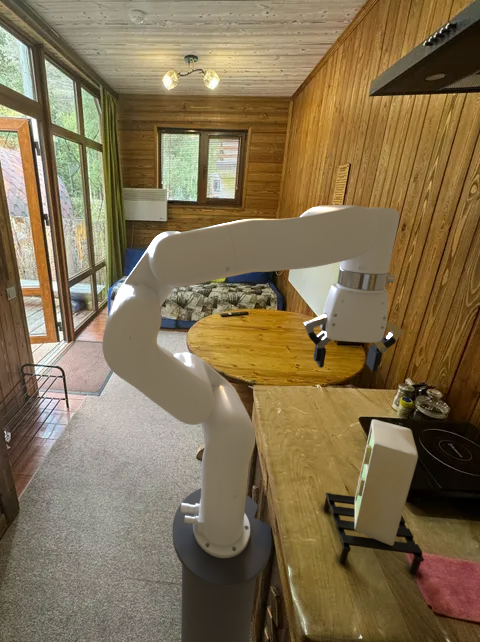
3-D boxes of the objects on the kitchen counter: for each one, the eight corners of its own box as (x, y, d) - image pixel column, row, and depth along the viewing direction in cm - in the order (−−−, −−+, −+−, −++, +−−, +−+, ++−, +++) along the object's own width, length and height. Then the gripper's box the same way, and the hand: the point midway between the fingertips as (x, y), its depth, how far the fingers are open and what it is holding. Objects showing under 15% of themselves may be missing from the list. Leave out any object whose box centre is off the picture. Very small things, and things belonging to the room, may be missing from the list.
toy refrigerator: (350, 497, 67) (368, 416, 61) (389, 512, 64) (412, 428, 58) (349, 529, 61) (369, 442, 54) (393, 547, 58) (420, 457, 51)
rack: (340, 564, 59) (344, 546, 58) (323, 507, 70) (326, 490, 69) (418, 575, 58) (425, 557, 56) (387, 515, 69) (392, 498, 67)
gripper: (402, 277, 57) (383, 360, 62) (305, 273, 59) (295, 354, 64) (426, 287, 50) (402, 380, 55) (316, 282, 52) (303, 372, 57)
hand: (344, 366), depth 60 cm, fingers open, 9 cm apart
